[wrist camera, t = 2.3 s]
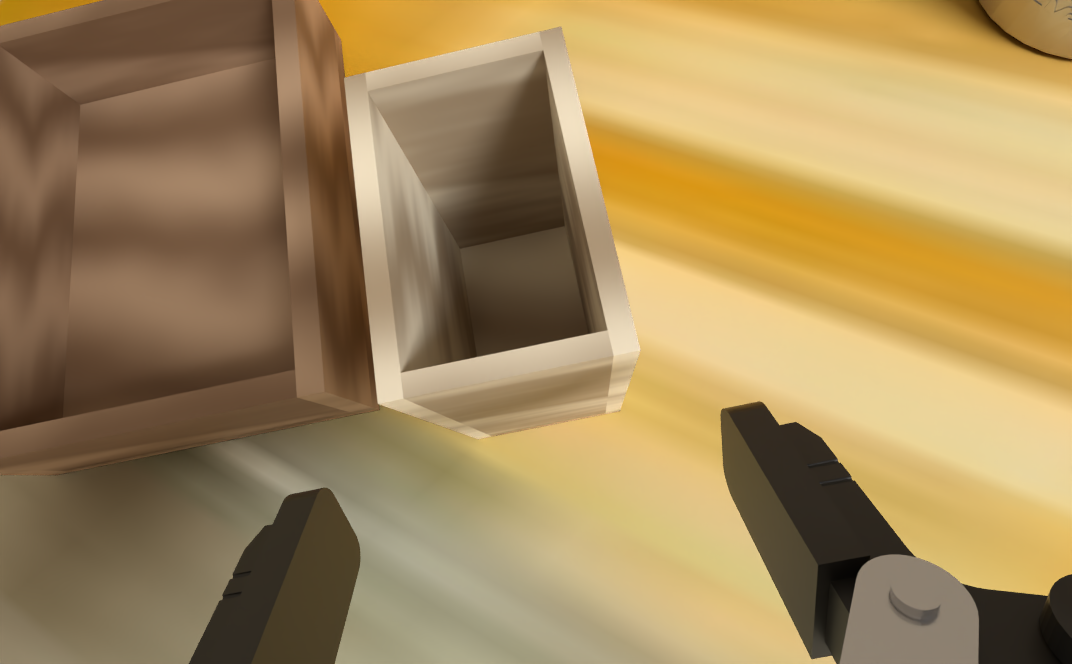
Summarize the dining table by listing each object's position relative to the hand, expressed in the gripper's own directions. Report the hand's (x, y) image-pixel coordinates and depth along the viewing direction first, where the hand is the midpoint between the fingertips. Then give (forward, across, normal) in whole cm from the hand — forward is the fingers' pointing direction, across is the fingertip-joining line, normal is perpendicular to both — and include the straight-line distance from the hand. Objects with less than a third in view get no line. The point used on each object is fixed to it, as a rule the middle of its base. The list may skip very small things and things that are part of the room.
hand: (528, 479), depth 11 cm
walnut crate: (+18, +15, -2) cm, 23 cm away
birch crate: (+13, 0, +3) cm, 13 cm away
